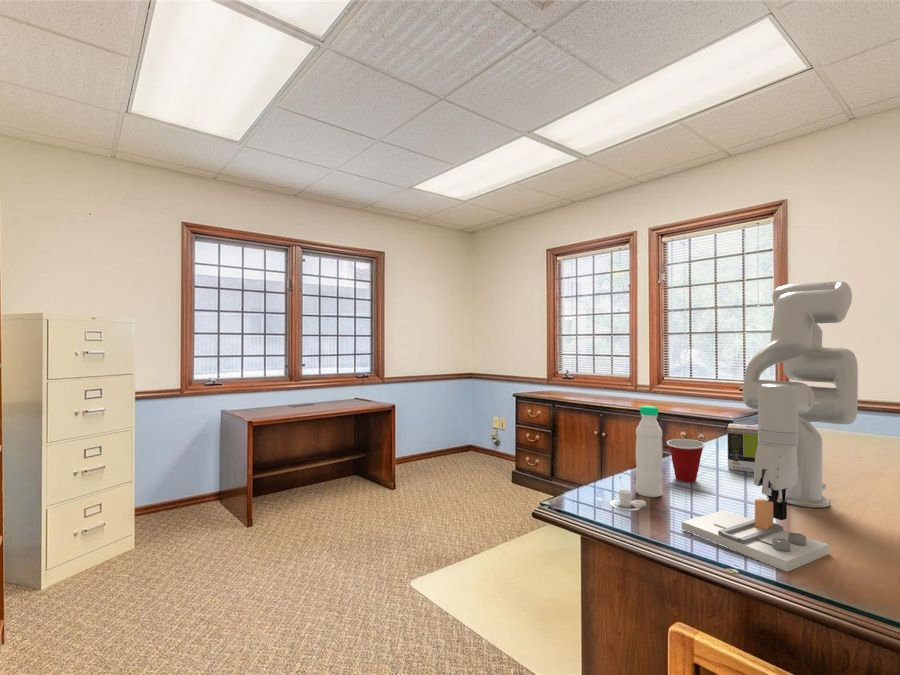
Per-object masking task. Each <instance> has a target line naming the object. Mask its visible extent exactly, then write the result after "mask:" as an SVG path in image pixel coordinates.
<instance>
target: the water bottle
mask: <svg viewBox="0 0 900 675" xmlns="http://www.w3.org/2000/svg"><path fill="white" fill-rule="evenodd" d="M639 412H640V417H641V419H640V421H639V423H638V425H637V427H636V429H635V434H636V440H635V465H636V468H635V479H636V480H635V492H636V494H638V495H639V496H642V497H646V498H659V497H661V496H662V495H663V484H662V483H663V471H662V470H663V469H662V467H663V439H662V438H663V430H662V427H661V426H660V424H659V422H658V420H657V418H658V415H659V409H658V407H657V406H652V405H643V406H641V407H640V410H639Z"/></svg>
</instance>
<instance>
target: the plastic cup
mask: <svg viewBox="0 0 900 675" xmlns="http://www.w3.org/2000/svg"><path fill="white" fill-rule="evenodd" d="M666 445H668V449H669V452H670V455H671V462H672V467H673V470H674V477H675V480H677V481H679V482H683V483H695V482H697V478H698V473H699V470H700V463H701V458H702V454H703V450H704V447H705V442H702V441H700V440H697V439H690V438H673V439H669V440H667V441H666Z"/></svg>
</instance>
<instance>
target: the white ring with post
mask: <svg viewBox="0 0 900 675" xmlns="http://www.w3.org/2000/svg"><path fill="white" fill-rule="evenodd" d="M616 494H618V499H617V497H616ZM613 496H614V498H615V499H613V500H610V501H609V505H610V507H612V508H614V509H617V510H622V511H631V512H632V511H633V512H634V511H639V510H641V509H642V508H644V507H646V505H647V502H646V501H645V500H643V499H634V500H632V491H630V490H627V489H620V490H618V491H615V492H614V493H613ZM615 503H619V505H620V506H622V507H625V508H622V507H618V506H616V505H615ZM630 506H632V507H633V508H630V509H629V507H630Z"/></svg>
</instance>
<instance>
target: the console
mask: <svg viewBox="0 0 900 675" xmlns="http://www.w3.org/2000/svg"><path fill="white" fill-rule="evenodd" d="M682 529H683V530H686V531H689V532H691V533H694V534H696V535H699V536H701V537H704V538H706V539H709V540H711V541H714V542H716V543H719V544H721V545H724V546H726V547H728V548H731V549H733V550H735V551H734V552H736V551H737V552H736V553H738V552H740V553H739V554H741V553H742V554H741V555H743V554H744V556H746V555H747V556H746V557H748V556H749V557H748V558H751V557H752V558H751V559H753V558H754V560H756V561H758V560H759V561H758V562H762V563H763V564H766V565H768V564H769V566H771V567H774V568H777V569H779V570H782V571H783V572H787V573H788V572H790V571H792V570H795V569H797V568H800V567H802V566H804V565H807V564H809V563H811V562H813V561H815V560H818V559H821V558H823V557H826V556H827V555H829V554H830V544H829V543H825V542H822V541H820V540H817V539H815V538H810V537H807V536H806V535H804V534H801V533H798V532H792V531H790V530H786V529H784V526H781V525H780V524H778V523H775V522H773V527H771V528H768V529H765V530H764V529H761V528H758V527H755V518H754V519H752V518H748V517H746V516H743V515H740V514H737V513H734V512H731V511H727V510H724V509H722V510H719V511H716V512H711V513H708V514H704V515H700V516H697V517H694V518H690V519H686V520H682V521H681V530H682ZM728 548H727V549H728ZM731 549H730V550H731ZM733 550H732V551H733Z"/></svg>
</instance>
